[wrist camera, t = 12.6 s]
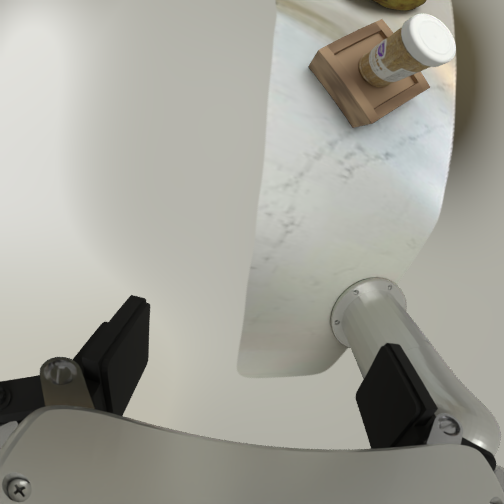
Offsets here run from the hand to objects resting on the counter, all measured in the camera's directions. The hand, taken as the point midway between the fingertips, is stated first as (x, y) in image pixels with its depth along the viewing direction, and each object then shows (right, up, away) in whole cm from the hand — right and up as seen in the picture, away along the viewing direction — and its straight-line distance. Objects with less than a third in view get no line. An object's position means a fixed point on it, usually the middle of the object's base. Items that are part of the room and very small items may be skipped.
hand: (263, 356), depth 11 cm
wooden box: (+14, +27, +22) cm, 37 cm away
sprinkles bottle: (+14, +25, +16) cm, 33 cm away
